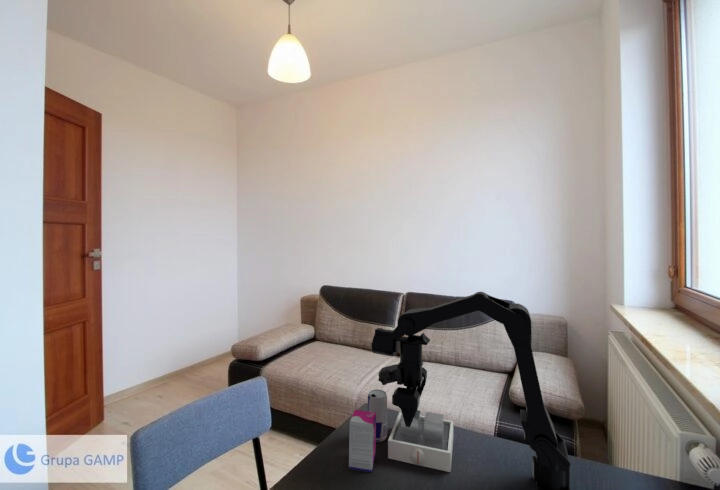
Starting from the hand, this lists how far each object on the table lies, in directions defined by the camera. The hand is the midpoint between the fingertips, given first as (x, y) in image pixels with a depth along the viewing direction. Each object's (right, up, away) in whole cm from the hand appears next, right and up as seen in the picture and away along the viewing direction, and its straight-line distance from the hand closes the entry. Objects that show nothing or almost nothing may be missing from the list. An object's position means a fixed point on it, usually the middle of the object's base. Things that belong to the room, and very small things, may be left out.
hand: (411, 416), depth 85 cm
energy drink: (-9, -8, +4) cm, 12 cm away
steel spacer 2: (+6, -4, -2) cm, 7 cm away
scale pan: (+3, -5, -1) cm, 5 cm away
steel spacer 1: (0, -4, 0) cm, 4 cm away
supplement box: (-13, -8, -7) cm, 16 cm away
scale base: (+3, -8, -1) cm, 8 cm away
